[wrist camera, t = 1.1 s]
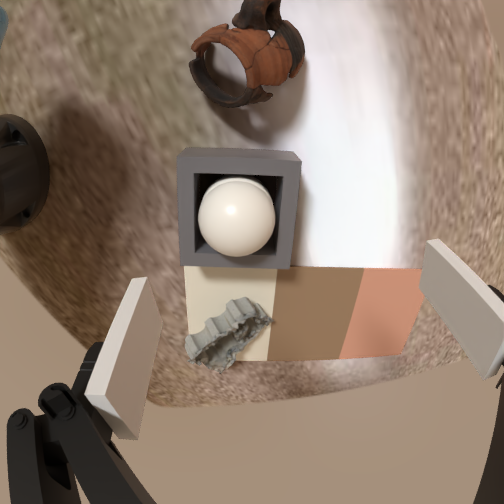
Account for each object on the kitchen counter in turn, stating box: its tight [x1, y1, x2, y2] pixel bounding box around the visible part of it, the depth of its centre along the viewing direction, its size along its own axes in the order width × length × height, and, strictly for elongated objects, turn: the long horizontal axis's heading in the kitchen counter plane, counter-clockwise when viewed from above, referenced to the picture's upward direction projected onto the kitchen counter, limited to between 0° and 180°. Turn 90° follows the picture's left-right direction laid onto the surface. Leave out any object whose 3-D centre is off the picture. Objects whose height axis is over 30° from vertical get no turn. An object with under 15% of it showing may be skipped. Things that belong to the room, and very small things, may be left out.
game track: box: [184, 266, 424, 361], centre depth 42 cm, size 33×16×1 cm, turn 87°
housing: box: [177, 148, 302, 269], centre depth 32 cm, size 11×11×5 cm
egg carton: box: [185, 297, 274, 374], centre depth 38 cm, size 11×8×4 cm
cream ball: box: [198, 174, 275, 257], centre depth 29 cm, size 7×7×7 cm
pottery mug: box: [189, 0, 305, 108], centre depth 24 cm, size 12×9×8 cm
